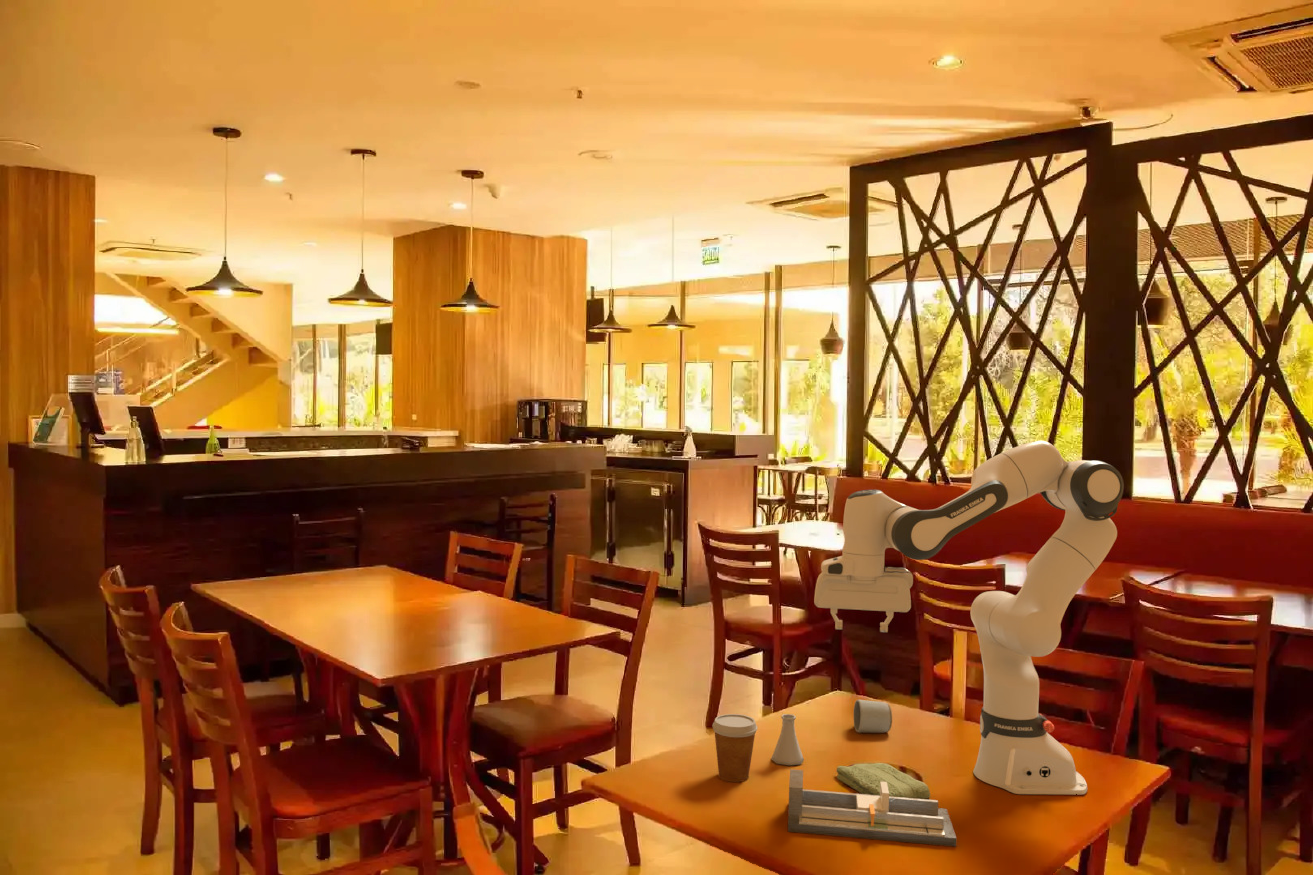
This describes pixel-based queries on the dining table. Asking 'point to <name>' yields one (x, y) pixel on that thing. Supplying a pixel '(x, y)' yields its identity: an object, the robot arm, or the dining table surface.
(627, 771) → the dining table surface
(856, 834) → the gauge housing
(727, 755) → the disposable coffee cup
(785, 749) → the flask
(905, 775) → the washcloth
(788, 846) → the dining table surface
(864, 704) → the ceramic mug
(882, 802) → the cream corner bracket
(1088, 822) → the dining table surface
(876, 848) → the dining table surface
